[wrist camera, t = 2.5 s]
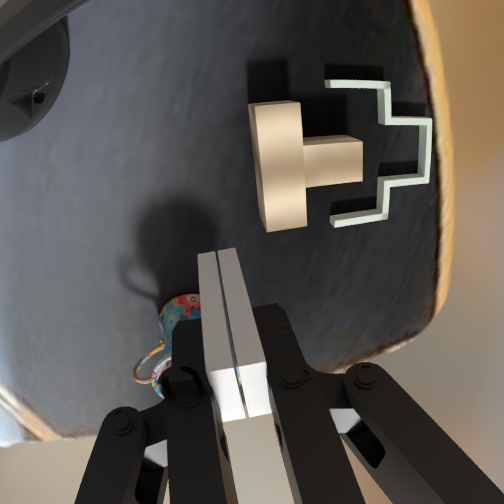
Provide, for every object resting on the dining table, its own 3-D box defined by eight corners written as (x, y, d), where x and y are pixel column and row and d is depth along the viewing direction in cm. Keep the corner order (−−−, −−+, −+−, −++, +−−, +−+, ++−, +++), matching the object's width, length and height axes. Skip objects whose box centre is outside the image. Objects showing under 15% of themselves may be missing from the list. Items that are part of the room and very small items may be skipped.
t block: (247, 104, 29) (254, 106, 25) (343, 98, 30) (361, 100, 26) (259, 216, 35) (267, 232, 31) (345, 203, 36) (361, 217, 32)
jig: (324, 80, 28) (330, 79, 27) (423, 84, 30) (431, 85, 28) (329, 222, 36) (334, 227, 35) (418, 208, 38) (425, 212, 36)
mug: (220, 278, 38) (230, 342, 28) (236, 334, 42) (249, 397, 33) (125, 300, 37) (111, 365, 28) (152, 352, 42) (148, 415, 32)
